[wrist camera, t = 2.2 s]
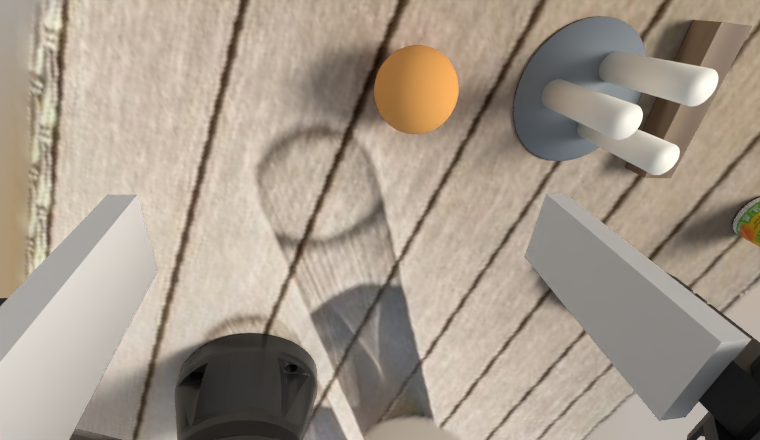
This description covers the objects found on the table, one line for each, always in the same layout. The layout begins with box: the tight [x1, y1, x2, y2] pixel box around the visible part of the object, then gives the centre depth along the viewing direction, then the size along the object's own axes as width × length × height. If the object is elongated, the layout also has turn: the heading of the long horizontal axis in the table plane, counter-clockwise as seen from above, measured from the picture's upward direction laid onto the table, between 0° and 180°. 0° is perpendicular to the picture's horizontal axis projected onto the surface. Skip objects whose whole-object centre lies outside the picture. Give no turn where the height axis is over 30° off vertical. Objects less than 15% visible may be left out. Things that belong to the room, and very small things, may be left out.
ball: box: [374, 45, 459, 134], centre depth 27 cm, size 6×6×6 cm
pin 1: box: [599, 51, 718, 107], centre depth 28 cm, size 2×2×8 cm
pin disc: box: [513, 17, 646, 161], centre depth 32 cm, size 12×12×1 cm
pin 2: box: [577, 123, 680, 175], centre depth 31 cm, size 2×2×8 cm
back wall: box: [626, 20, 752, 178], centre depth 33 cm, size 3×13×2 cm, turn 174°
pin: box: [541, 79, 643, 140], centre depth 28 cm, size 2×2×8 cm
